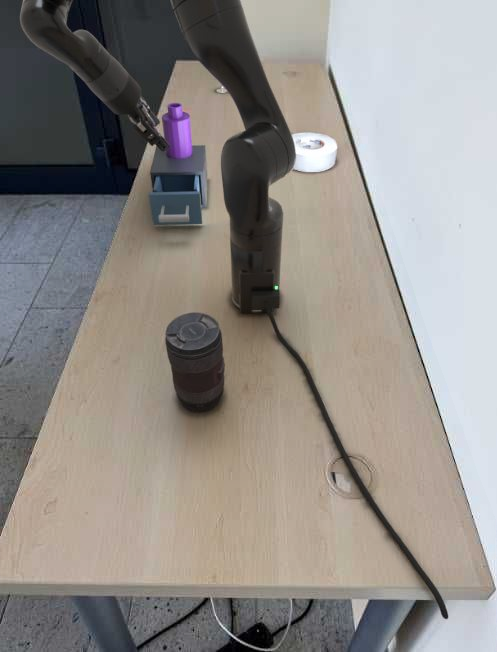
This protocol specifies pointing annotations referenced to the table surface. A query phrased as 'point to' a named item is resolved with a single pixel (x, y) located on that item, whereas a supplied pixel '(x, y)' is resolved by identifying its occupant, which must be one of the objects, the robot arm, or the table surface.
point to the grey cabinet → (182, 167)
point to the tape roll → (314, 152)
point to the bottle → (177, 132)
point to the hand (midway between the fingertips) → (161, 136)
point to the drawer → (176, 200)
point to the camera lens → (196, 360)
